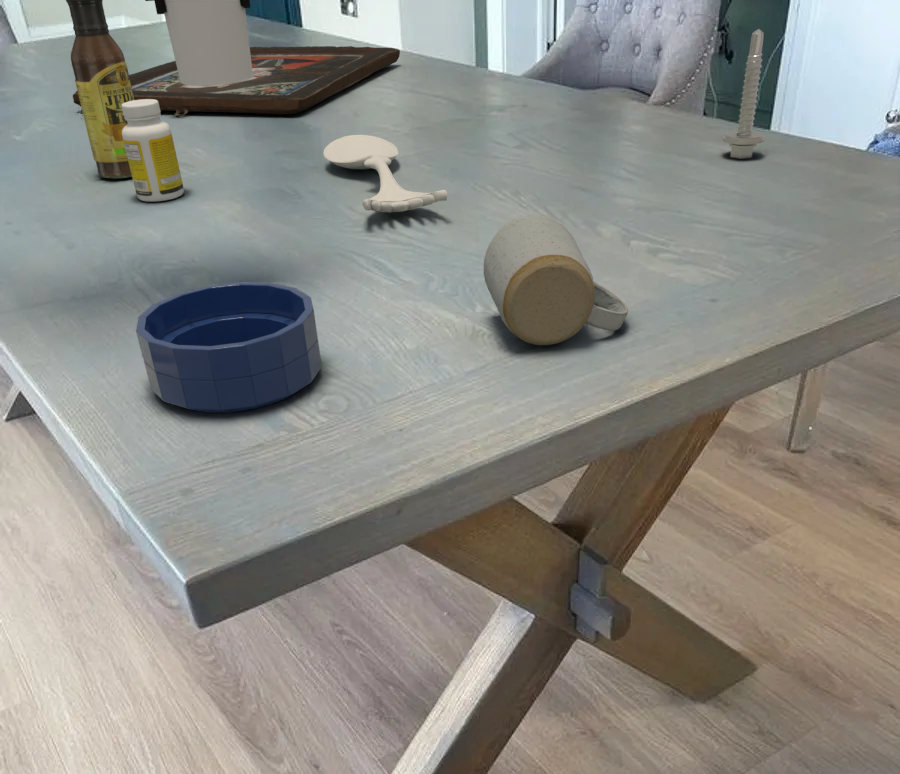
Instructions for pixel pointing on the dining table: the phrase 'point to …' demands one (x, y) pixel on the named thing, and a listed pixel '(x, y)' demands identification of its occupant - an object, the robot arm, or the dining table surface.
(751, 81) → the screw
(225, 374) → the bowl
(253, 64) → the religious icon
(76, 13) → the sauce bottle
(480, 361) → the dining table surface
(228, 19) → the white cylindrical cup
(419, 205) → the cream back scratcher
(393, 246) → the dining table surface
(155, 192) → the supplement bottle
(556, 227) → the ceramic mug
